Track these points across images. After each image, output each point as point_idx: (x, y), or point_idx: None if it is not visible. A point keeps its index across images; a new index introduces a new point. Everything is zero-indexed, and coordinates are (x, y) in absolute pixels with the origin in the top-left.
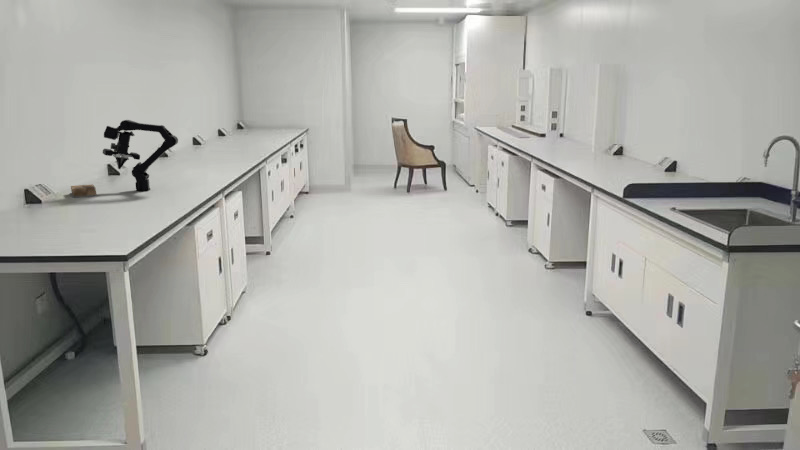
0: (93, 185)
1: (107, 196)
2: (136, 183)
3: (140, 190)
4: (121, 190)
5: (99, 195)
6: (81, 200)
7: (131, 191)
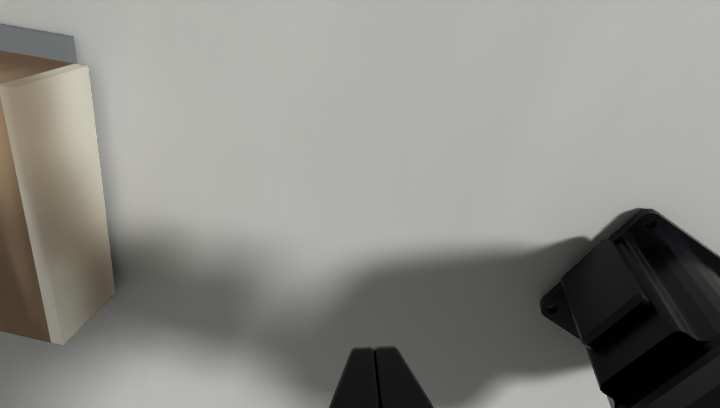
0: (29, 194)
1: (207, 369)
2: (586, 347)
3: (578, 337)
4: (427, 123)
5: (147, 282)
6: (15, 390)
7: (493, 271)
